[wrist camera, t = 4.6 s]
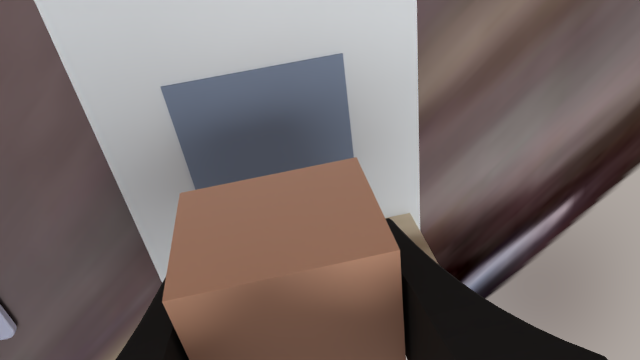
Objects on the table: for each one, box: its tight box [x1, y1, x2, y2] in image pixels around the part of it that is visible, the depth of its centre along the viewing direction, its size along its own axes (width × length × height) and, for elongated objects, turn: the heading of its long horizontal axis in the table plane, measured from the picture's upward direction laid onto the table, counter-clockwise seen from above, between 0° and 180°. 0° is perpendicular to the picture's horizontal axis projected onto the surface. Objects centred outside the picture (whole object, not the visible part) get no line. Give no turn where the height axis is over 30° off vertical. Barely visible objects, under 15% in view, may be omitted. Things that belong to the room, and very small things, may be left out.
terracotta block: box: [162, 157, 406, 360], centre depth 13 cm, size 5×5×4 cm
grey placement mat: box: [34, 0, 420, 283], centre depth 19 cm, size 13×20×1 cm, turn 7°
